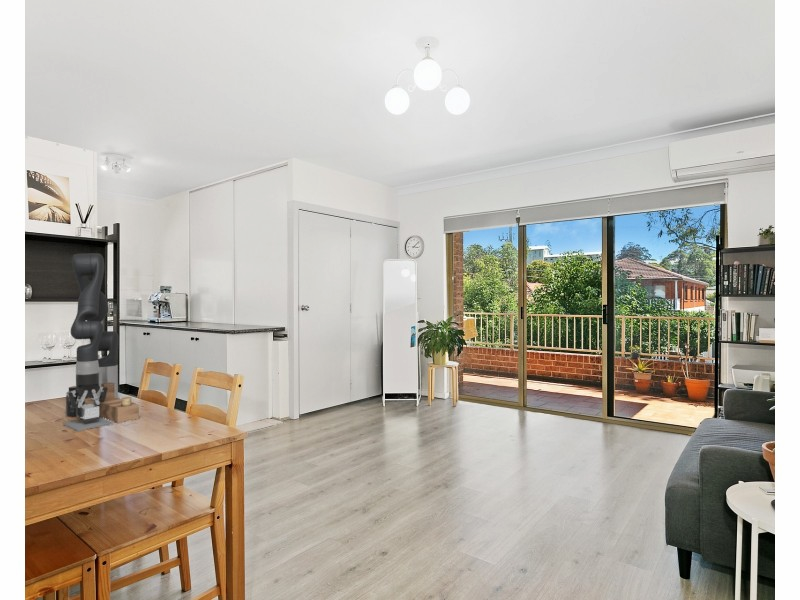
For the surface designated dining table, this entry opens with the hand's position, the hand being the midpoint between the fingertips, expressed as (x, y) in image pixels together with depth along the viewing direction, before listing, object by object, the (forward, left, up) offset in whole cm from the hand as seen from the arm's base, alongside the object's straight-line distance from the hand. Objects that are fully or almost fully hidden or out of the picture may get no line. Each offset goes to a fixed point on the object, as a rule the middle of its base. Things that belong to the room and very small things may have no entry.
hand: (87, 415), depth 186 cm
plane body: (-3, +12, -4) cm, 13 cm away
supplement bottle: (-20, +3, -4) cm, 21 cm away
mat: (0, 0, -4) cm, 4 cm away
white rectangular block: (0, 0, 0) cm, 0 cm away
